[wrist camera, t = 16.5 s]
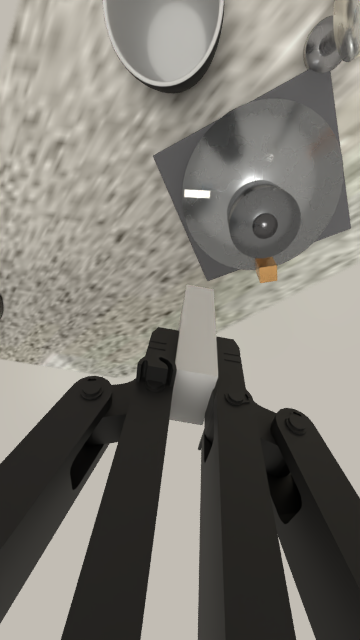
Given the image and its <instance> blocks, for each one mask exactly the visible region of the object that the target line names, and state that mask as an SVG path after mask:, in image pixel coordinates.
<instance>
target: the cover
mask: <svg viewBox="0 0 360 640" xmlns="http://www.w3.org/2000/svg"><path fill="white" fill-rule="evenodd" d="M227 222H228V227H229V232H230V236H231V239H232V242H233V244H234V245H235V247H236V248H237V249H238V250H239V251H240V252H241V253H243V254H244V255H246V256H249V257H252V258H268V257H272V256H275V255H277V254H279V253H281V252H282V251H284V250H285V249H286V248H287V247H288V246H289V245H290V244H291V243H292V242H293V240H294V239H295V237H296V235H297V233H298V231H299V228H300V223H301V213H300V208H299V206H298V203H297V202H296V200H295V199H294V197H293V196H292V195H290V194H289V193H288V192H286V191H285V190H283V189H282V188H280V187H279V186H277V185H276V184H274V183H272V182H270V181H266V180H255V181H251V182H249V183H246V184H245V185H243V186H242V187H240V188H239V189H238V190H237V191H236V192H235V193H234V195H233V196H232V198H231V199H230V202H229V204H228V208H227Z"/></svg>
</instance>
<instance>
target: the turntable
mask: <svg viewBox="0 0 360 640" xmlns="http://www.w3.org/2000/svg"><path fill="white" fill-rule="evenodd" d="M255 180H266V181H270V182H272V183H274V184H276V185H277V186H279V187H280V188H282V189H283V190H285V191H286V192H288V193H289V194H290V195H292V196H293V197H294V199H295V200H296V202H297V203H298V206H299V208H300V213H301V223H300V228H299V231H298V233H297V235H296V237H295V239H294V240H293V242H292V243H291V244H290V245H289V246H288V247H287V248H286V249H285V250H284V251H282V252H281V253H279V254H277V255H275V256H272V257H268V258H252V257H249V256H246V255H244V254H243V253H241V252H240V251H239V250H238V249H237V248H236V247H235V245H234V244H233V242H232V239H231V236H230V232H229V227H228V222H227V208H228V204H229V202H230V199H231V198H232V196H233V195H234V193H235V192H236V191H237V190H238V189H239V188H240V187H242V186H243V185H245V184H246V183H249V182H251V181H255ZM342 184H343V160H342V154H341V150H340V147H339V144H338V141H337V139H336V137H335V134H334V133H333V131H332V130H331V128H330V127H329V125H328V124H327V123H326V122H325V120H324V119H323V118H322V117H321V116H320V115H319V114H317V113H316V112H315V111H313V110H312V109H311V108H309V107H307V106H305V105H303V104H301V103H298V102H294V101H291V100H286V99H278V98H276V99H262V100H257V101H253V102H250V103H247V104H244V105H242V106H240V107H238V108H236V109H234V110H232V111H230V112H229V113H227V114H226V115H225V116H223V117H222V118H220V119H219V120H218V121H217V122H216V123H215V124H214V125H213V126H212V127H211V128H210V129H209V130H208V131H207V132H206V133H205V135H204V136H203V137H202V138H201V140H200V141H199V143H198V144H197V146H196V148H195V149H194V151H193V153H192V155H191V158H190V160H189V162H188V165H187V168H186V171H185V176H184V180H183V188H182V206H183V213H184V217H185V221H186V224H187V226H188V229H189V231H190V233H191V235H192V237H193V238H194V240H195V241H196V243H197V244H198V245H199V247H200V248H201V249H202V250H203V251H204V252H205V253H206V254H207V255H209V256H210V257H211V258H213V259H214V260H216V261H218V262H219V263H221V264H224V265H226V266H229V267H233V268H236V269H243V270H256V272H257V275H258V278H259V281H260V283H264V282H271V281H277V265H280V264H282V263H284V262H287V261H289V260H291V259H292V258H294V257H296V256H297V255H299V254H300V253H302V252H303V251H304V250H305V249H307V248H308V247H309V246H310V245H311V244H312V243H313V242H314V241H315V240H316V239H317V238H318V237H319V236H320V234H321V233H322V232H323V231H324V229H325V228H326V226H327V225H328V223H329V221H330V220H331V218H332V216H333V214H334V212H335V209H336V207H337V204H338V202H339V198H340V194H341V190H342Z"/></svg>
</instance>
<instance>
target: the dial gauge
mask: <svg viewBox="0 0 360 640" xmlns="http://www.w3.org/2000/svg"><path fill="white" fill-rule="evenodd" d="M358 56H360V0H335V2H334V11H333V16H329V17H327V18H325V19H323V20H322V21H320V22H319V23H318V24H317V25H316V26H315V27H314V29H313V30H312V31H311V33H310V34H309V36H308V38H307V40H306V43H305V47H304V62H305V65H306V67H307V69H308V70H309V69H311V70H312V71H314V72H316V73H326V72H329V71H331V70H332V69H334V68H335V67H336V66H337V65H338V64H339V63H340V62H341V61H342V60H343V61H345V62H349V61H351V60H353V59H355V58H356V57H358Z"/></svg>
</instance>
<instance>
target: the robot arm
mask: <svg viewBox="0 0 360 640" xmlns="http://www.w3.org/2000/svg"><path fill="white" fill-rule="evenodd" d="M2 312H3V304H2V300H1V297H0V318H1V316H2ZM204 418H205V429H204V432H203V435H202V437H201V441H200V443H199V447H198V450H201V448H202V452H201V504H200V557H199V608H198V640H296V636H295V631H294V625H293V619H292V614H291V608H290V603H289V597H288V591H287V586H286V580H285V574H284V569H283V563H282V558H281V552H280V546H279V541H278V537H279V539H280V542H281V545H282V548H283V551H284V553H285V556H286V559H287V562H288V564H289V567H290V570H291V572H292V575H293V578H294V581H295V583H296V586H297V589H298V592H299V594H300V597H301V600H302V603H303V605H304V608H305V611H306V613H307V616H308V619H309V622H310V624H311V627H312V630H313V632H314V635H315V638H316V640H360V498H359V496H358V495H357V494H356V492H355V490H354V489H353V487H352V485H351V484H350V482H349V481H348V479H347V477H346V476H345V474H344V472H343V471H342V469H341V468H340V466H339V464H338V463H337V461H336V459H335V458H334V456H333V455H332V453H331V451H330V450H329V448H328V447H327V445H326V443H325V442H324V440H323V439H322V437H321V435H320V434H319V432H318V431H317V429H316V427H315V426H314V424H313V423H312V422H311V420H310V419H309V418H308V417H307V416H305V415H304V414H303V413H301V412H299V411H297V410H295V409H290V408H284V409H280V411H278V412H277V413H274V412H272V411H270V410H268V409H265V408H263V407H261V406H259V405H258V404H257V403H255V402H254V401H253V398H252V396H251V395H250V393H249V392H248V391H247V390H246V388H245V382H244V376H243V370H242V364H241V357H240V350H239V347H238V345H237V344H236V342H235V341H234V340H233V339H227V338H221V337H216V321H215V301H214V289H210V288H204V287H199V286H193V285H188V284H187V285H186V290H185V296H184V301H183V307H182V312H181V317H180V323H179V329H178V331H177V330H172V329H166V328H160V327H158V328H157V329H156V330H155V331H154V332H152V335H151V338H150V342H149V345H148V349H147V352H146V356H145V357H143V358H142V359H140V361H139V363H138V366H137V377H136V379H134V380H133V381H131V382H128V383H125V384H119V385H118V384H117V385H111V384H110V382H109V381H108V380H106V379H105V378H103V377H98V376H88V377H85V378H82V379H80V380H79V381H78V382H76V383H75V384H74V385H73V386H72V387H71V388H70V389H69V390H68V391H67V392H66V393H65V394H64V395H63V397H62V398H61V399H60V400H59V401H58V402H57V403H56V404H55V405H54V406H53V407H52V408H51V410H50V411H49V412H48V413H47V414H46V415H45V416H44V417H43V418H42V419H41V420H40V422H39V423H38V424H37V425H36V426H35V427H34V428H33V429H32V430H31V431H30V432H29V434H28V435H27V436H26V437H25V438H24V439H23V440H22V441H21V442H20V443H19V444H18V445H17V446H16V448H15V449H14V450H13V451H12V452H11V453H10V454H9V455H8V456H7V457H6V458H5V460H4V461H3V462H2V463H1V464H0V623H1V621H2V620H3V618H4V616H5V615H6V613H7V612H8V610H9V608H10V607H11V605H12V603H13V602H14V600H15V598H16V596H17V595H18V593H19V592H20V590H21V589H22V587H23V585H24V584H25V582H26V580H27V579H28V577H29V575H30V574H31V572H32V570H33V569H34V567H35V565H36V564H37V562H38V560H39V559H40V557H41V556H42V554H43V552H44V551H45V549H46V547H47V546H48V544H49V542H50V541H51V539H52V537H53V536H54V534H55V532H56V531H57V529H58V528H59V526H60V524H61V522H62V521H63V519H64V518H65V516H66V514H67V513H68V511H69V509H70V508H71V506H72V504H73V503H74V501H75V499H76V498H77V496H78V495H79V493H80V491H81V490H82V488H83V486H84V485H85V483H86V481H87V480H88V478H89V476H90V475H91V473H92V471H93V470H94V468H95V467H96V465H97V463H98V462H99V460H100V458H101V457H102V455H103V453H104V451H105V450H106V448H107V447H108V445H109V443H114V442H118V445H117V449H116V452H115V455H114V459H113V462H112V466H111V469H110V473H109V476H108V479H107V483H106V486H105V490H104V493H103V497H102V500H101V504H100V507H99V511H98V514H97V517H96V521H95V524H94V528H93V531H92V535H91V538H90V541H89V545H88V548H87V552H86V555H85V559H84V562H83V565H82V569H81V572H80V576H79V579H78V583H77V587H76V590H75V593H74V597H73V600H72V603H71V607H70V610H69V614H68V618H67V621H66V624H65V627H64V631H63V634H62V638H61V640H140V638H141V630H142V623H143V614H144V608H145V599H146V592H147V583H148V577H149V569H150V562H151V553H152V547H153V539H154V531H155V524H156V516H157V509H158V501H159V493H160V486H161V477H162V470H163V463H164V455H165V447H166V440H167V432H168V425H169V420H175V421H181V422H187V423H193V424H199V425H202V424H203V421H204ZM277 534H278V535H277Z"/></svg>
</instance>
